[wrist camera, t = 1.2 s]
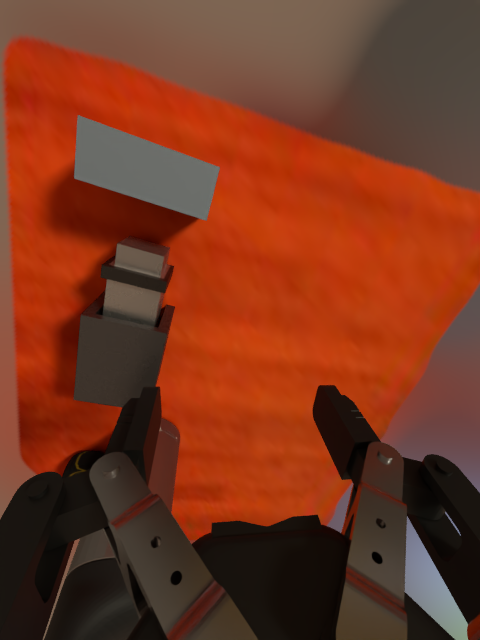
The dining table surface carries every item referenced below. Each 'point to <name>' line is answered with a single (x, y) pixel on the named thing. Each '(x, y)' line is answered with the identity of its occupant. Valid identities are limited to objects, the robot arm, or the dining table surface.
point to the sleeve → (117, 356)
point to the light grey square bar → (136, 281)
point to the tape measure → (81, 462)
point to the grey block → (143, 169)
